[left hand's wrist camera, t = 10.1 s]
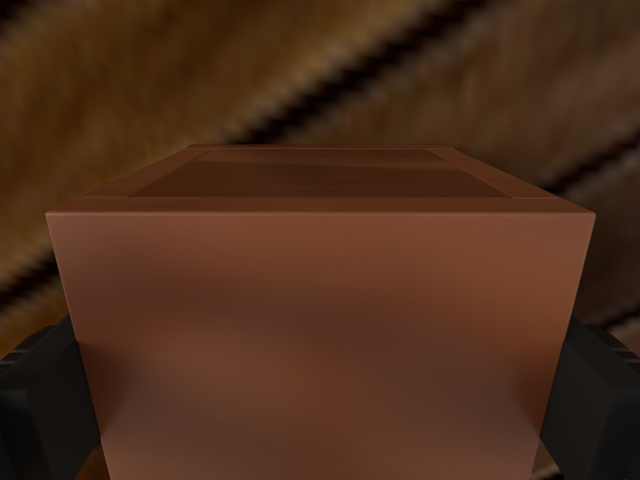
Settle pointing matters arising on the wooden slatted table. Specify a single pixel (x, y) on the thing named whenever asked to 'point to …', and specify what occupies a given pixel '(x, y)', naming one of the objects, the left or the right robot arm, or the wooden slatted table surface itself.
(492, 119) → the wooden slatted table surface
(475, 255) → the cabinet
